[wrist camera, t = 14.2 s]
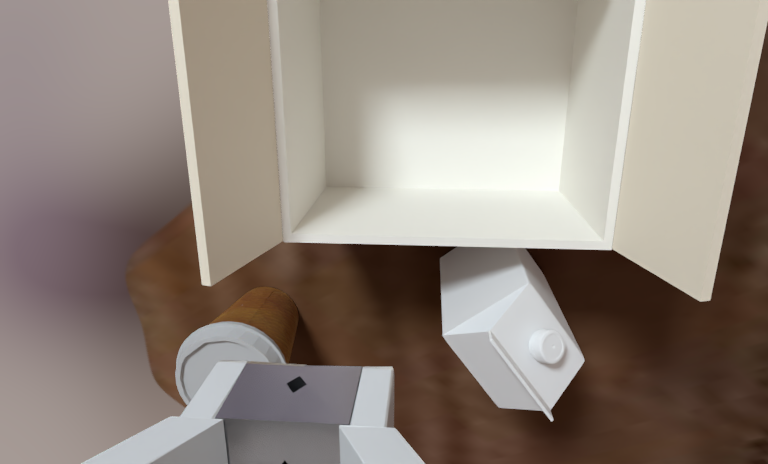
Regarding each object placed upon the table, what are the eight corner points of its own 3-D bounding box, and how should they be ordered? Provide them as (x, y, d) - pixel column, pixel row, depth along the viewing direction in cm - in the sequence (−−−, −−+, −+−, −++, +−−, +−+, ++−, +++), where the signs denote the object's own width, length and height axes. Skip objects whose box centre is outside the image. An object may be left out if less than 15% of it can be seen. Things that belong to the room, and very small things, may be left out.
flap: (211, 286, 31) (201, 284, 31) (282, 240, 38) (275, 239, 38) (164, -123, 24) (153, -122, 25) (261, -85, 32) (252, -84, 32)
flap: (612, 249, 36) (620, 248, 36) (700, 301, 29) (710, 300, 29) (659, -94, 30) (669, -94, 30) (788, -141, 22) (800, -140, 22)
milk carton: (480, 312, 54) (505, 446, 36) (438, 257, 52) (442, 367, 34) (544, 274, 52) (603, 394, 34) (502, 215, 51) (541, 309, 33)
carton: (563, 195, 49) (611, 250, 36) (321, 191, 51) (283, 242, 38) (589, -53, 43) (659, -96, 30) (311, -48, 45) (261, -87, 32)
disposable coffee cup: (304, 266, 54) (270, 324, 42) (322, 351, 57) (295, 427, 45) (212, 277, 55) (155, 337, 44) (234, 359, 58) (187, 436, 47)
